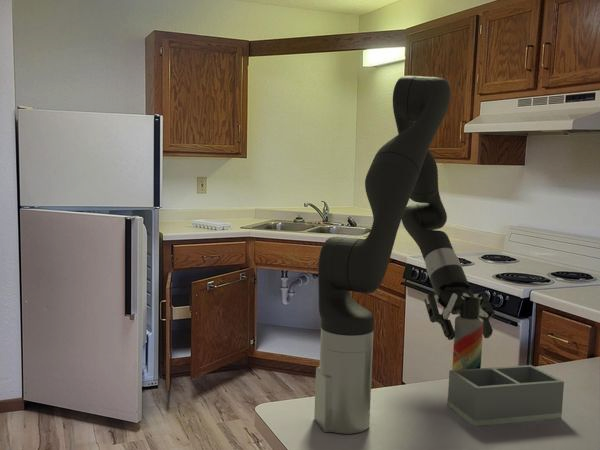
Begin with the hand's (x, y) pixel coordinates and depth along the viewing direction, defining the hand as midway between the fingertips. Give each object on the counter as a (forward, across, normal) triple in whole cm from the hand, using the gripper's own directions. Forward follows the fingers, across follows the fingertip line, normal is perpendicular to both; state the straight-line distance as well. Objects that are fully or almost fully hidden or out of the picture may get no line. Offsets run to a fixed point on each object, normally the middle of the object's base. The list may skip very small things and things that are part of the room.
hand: (470, 337), depth 122 cm
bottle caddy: (+16, +1, 0) cm, 16 cm away
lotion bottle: (+8, 0, +9) cm, 12 cm away
